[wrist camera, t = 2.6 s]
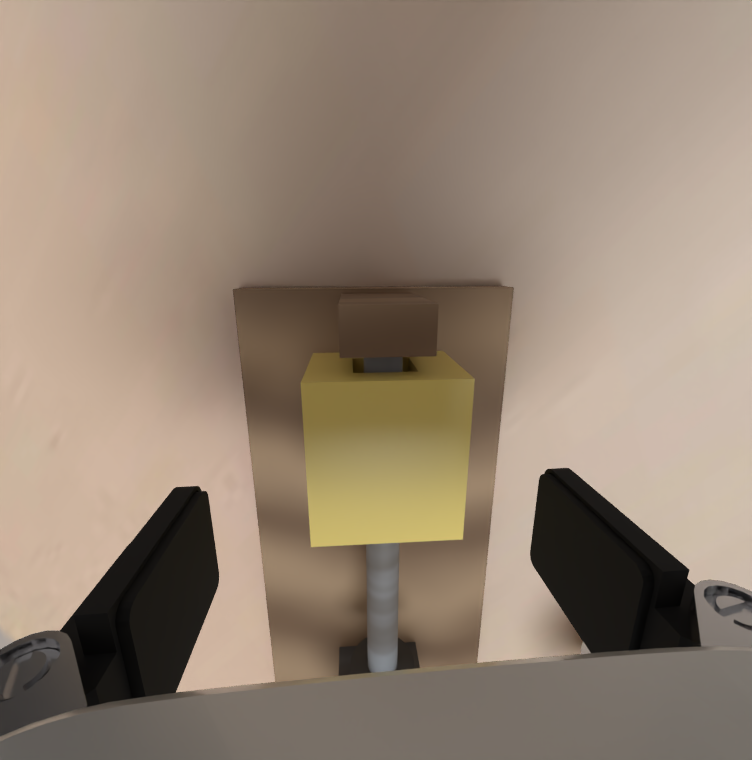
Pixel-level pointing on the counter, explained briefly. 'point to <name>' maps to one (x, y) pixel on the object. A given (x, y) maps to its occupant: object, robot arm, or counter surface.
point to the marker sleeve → (386, 450)
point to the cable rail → (289, 482)
